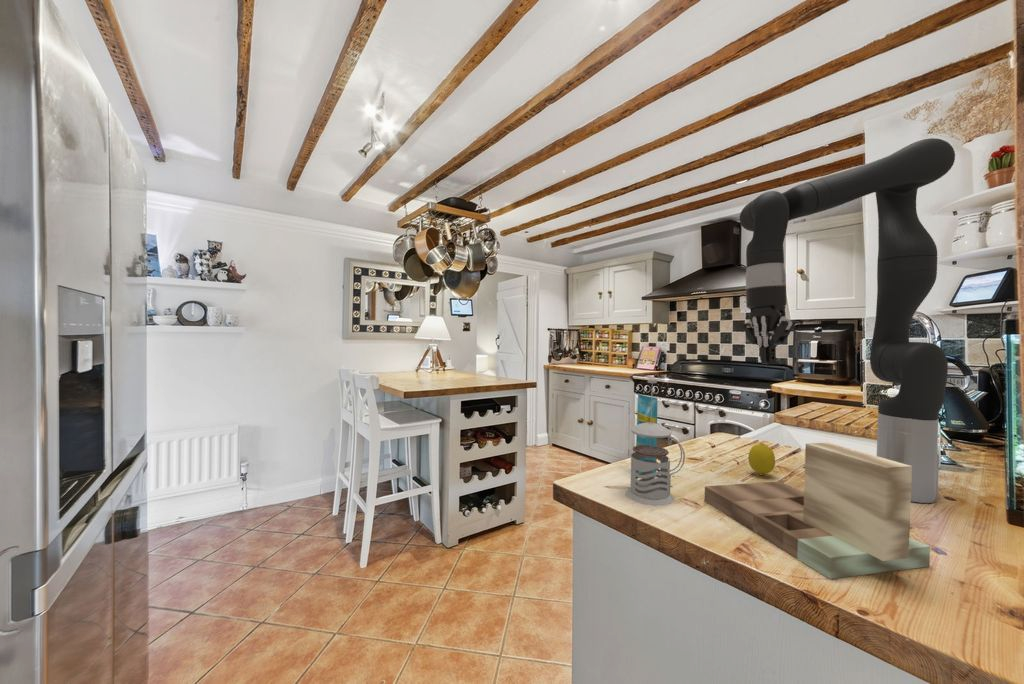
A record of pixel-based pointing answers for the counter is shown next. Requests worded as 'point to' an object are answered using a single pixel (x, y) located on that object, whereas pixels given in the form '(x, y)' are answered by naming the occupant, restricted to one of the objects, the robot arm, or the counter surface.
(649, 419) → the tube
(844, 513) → the block
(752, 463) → the lemon
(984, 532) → the counter surface
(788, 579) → the counter surface
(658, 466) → the french press
